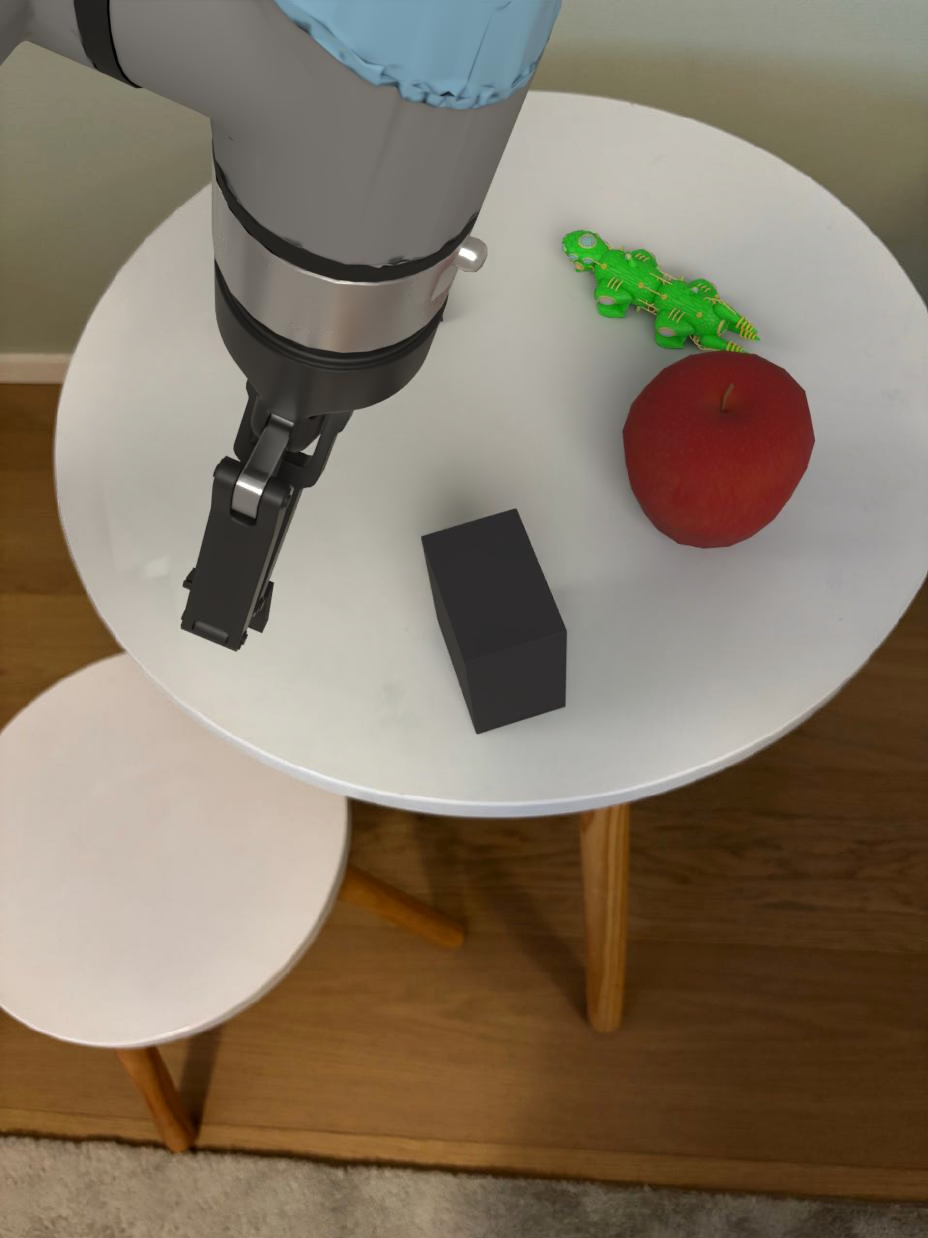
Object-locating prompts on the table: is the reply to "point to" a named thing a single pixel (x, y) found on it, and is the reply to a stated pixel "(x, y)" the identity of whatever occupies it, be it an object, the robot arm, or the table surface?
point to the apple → (717, 446)
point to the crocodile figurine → (656, 294)
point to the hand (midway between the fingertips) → (294, 497)
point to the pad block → (497, 620)
